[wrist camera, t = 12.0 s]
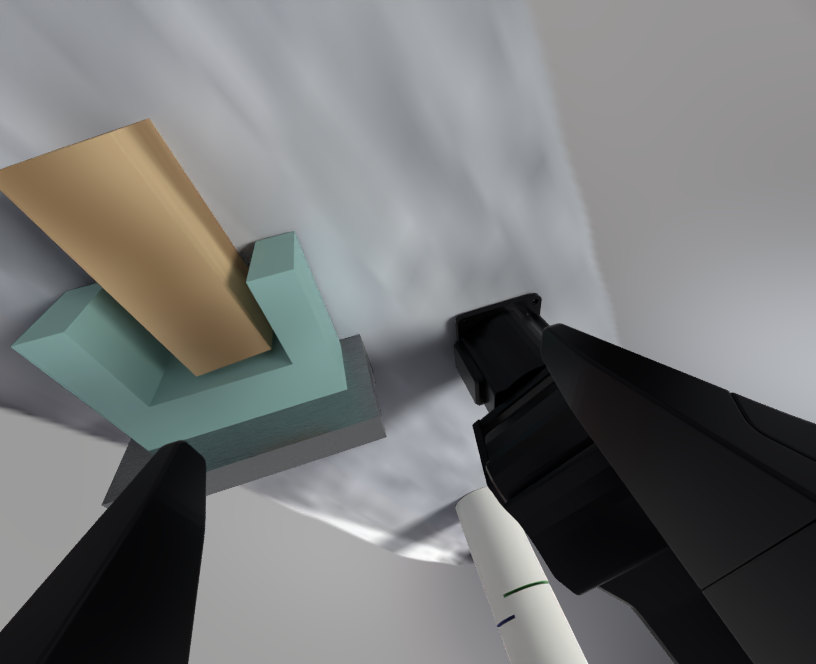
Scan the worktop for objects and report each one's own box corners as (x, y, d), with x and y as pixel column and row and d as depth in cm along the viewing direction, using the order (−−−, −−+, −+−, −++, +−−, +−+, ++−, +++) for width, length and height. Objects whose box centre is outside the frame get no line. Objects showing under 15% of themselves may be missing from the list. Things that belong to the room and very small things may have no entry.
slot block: (294, 231, 17) (293, 269, 14) (340, 343, 22) (347, 389, 19) (66, 291, 16) (10, 346, 13) (170, 393, 21) (148, 451, 18)
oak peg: (151, 117, 13) (108, 133, 10) (275, 306, 20) (271, 349, 17) (55, 149, 13) (-16, 175, 10) (211, 329, 20) (196, 376, 17)
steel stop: (359, 334, 23) (378, 416, 17) (373, 373, 25) (393, 454, 20) (149, 396, 21) (101, 505, 16) (186, 430, 24) (155, 533, 19)
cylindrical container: (444, 512, 45) (551, 834, 26) (480, 483, 42) (627, 821, 23) (479, 514, 49) (594, 797, 30) (513, 488, 46) (663, 782, 27)
